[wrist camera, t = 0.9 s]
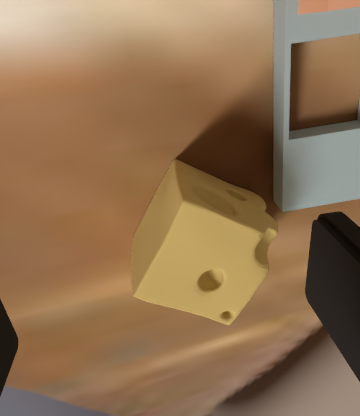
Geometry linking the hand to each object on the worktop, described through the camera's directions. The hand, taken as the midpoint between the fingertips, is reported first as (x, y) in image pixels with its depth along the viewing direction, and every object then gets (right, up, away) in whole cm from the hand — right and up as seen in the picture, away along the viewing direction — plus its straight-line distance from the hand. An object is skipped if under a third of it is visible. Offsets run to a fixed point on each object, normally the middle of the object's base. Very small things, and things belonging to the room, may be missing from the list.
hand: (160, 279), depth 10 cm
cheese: (+2, +1, +27) cm, 27 cm away
